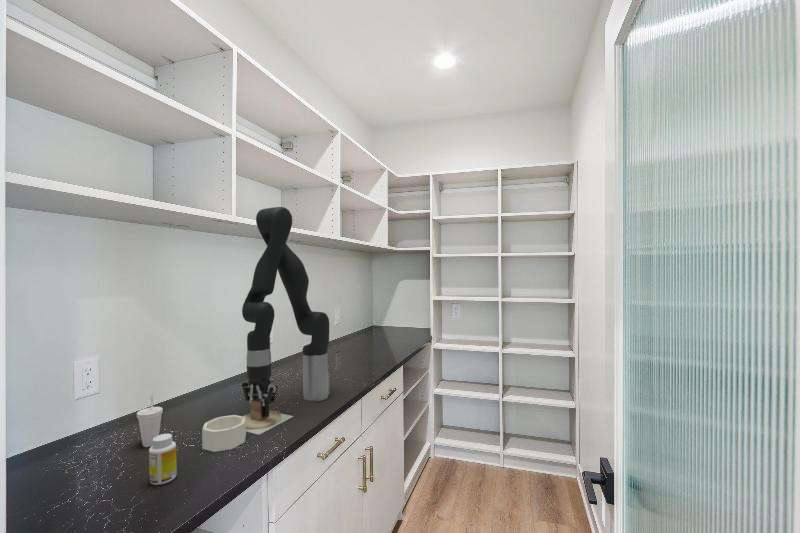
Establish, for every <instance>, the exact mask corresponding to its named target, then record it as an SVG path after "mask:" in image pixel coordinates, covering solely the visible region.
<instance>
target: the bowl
mask: <svg viewBox="0 0 800 533" xmlns="http://www.w3.org/2000/svg"><path fill="white" fill-rule="evenodd" d="M246 437H247V432H246V417H242V415H236V414H231V415H224V416H218V417H216V418H213V419H210V420H208V421H206V422H204V425H203V427H202V429H201V439H202V440H201V441H202V444H201V445H202V446H201V448H202V450H204V451H209V452H212V453H216V452H222V451H228V450H233V449H235V448H236V447H238V446H240V445H242V444H244V443H246Z"/></svg>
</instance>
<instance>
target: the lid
mask: <svg viewBox="0 0 800 533" xmlns="http://www.w3.org/2000/svg"><path fill="white" fill-rule="evenodd" d="M265 401H266V398H265ZM249 403H250V412H249V413H247V414H246V413H245V414H244V415H243V416H242V415H241V416H242V417H246V429H248V430H255V429H263V428H267V427H270V426H273V425H275V424H277V423H278V422H279V421H280V420H281V414H282V413H281V412H279V411H277V410H270V409H269V414H268V416H266V417H262V403H261V399H259V396H258V398H256V399H253V400H251V401H250V402H249ZM280 413H281V414H280Z"/></svg>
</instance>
